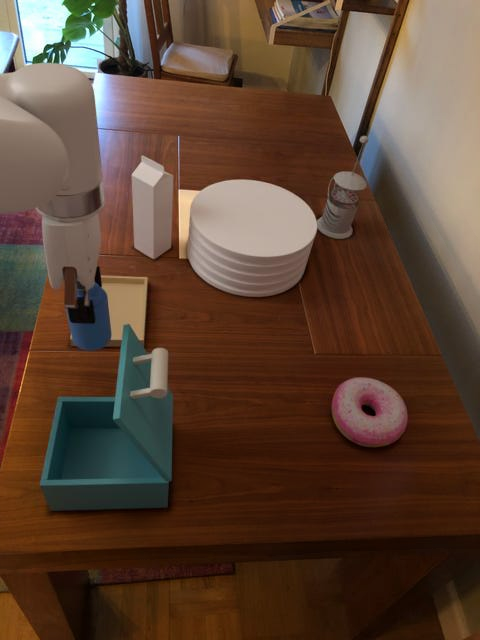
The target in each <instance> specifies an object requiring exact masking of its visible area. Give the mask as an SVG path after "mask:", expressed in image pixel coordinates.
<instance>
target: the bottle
mask: <svg viewBox="0 0 480 640" xmlns="http://www.w3.org/2000/svg"><path fill="white" fill-rule="evenodd" d="M77 281H79V280H78V278H77ZM77 297H84V292H83V289H77ZM90 300H93V305H94V312H95V319H96V320H95V323H94V324H84V323H83V324H82V323H71V322H70V319H69V314H68V309H67V308H65V311H66V315H67V320H68V325H69V330H70V336H71V335H72V340H73V342H74V344H75V345H76V346H75V347H77V348H78V349H80V350H83V351H89V352H90V351H91V352H92V351H97V350H100V349H103V348H104V346H106V345H107V344H108V343H109V341H110V340H111V336H112V333H111V324H110V315H109V306H108V297H107V293H106V292H105V290H104V289H103V288H101V287H99V285H98V284H97V283H95V280H94V282H93V286H92V287H91V288H90Z"/></svg>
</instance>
